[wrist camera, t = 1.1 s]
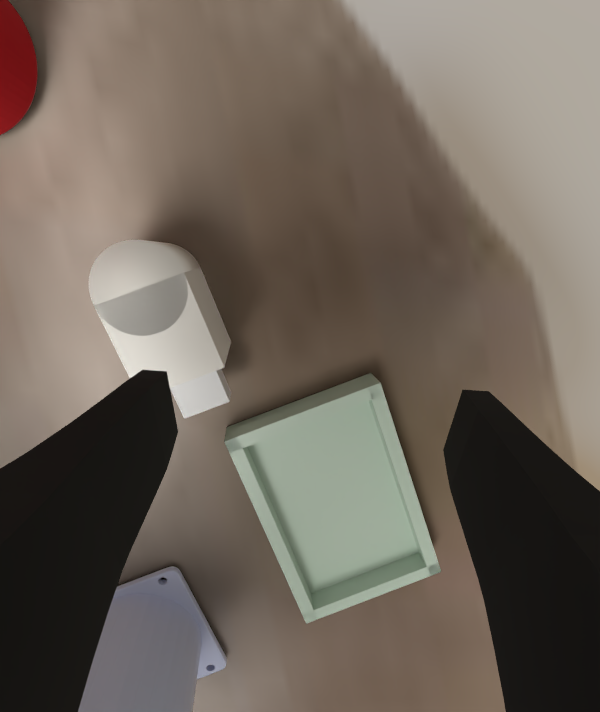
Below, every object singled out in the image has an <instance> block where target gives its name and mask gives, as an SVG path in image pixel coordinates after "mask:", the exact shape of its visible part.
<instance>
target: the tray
mask: <svg viewBox="0 0 600 712" xmlns="http://www.w3.org/2000/svg"><path fill="white" fill-rule="evenodd" d="M224 442H225V444H226V446H227V449H228V451H229V453H230V455H231V457H232V460H233V462H234V464H235V466H236V469H237V471H238V473H239V475H240V477H241V480H242V482H243V484H244V486H245V489H246V491H247V493H248V495H249V497H250V500H251V502H252V504H253V506H254V509H255V511H256V513H257V515H258V517H259V520H260V522H261V524H262V526H263V529H264V531H265V533H266V535H267V537H268V540H269V542H270V544H271V546H272V549H273V551H274V553H275V555H276V557H277V560H278V562H279V564H280V566H281V569H282V571H283V573H284V575H285V577H286V580H287V582H288V584H289V586H290V589H291V591H292V593H293V595H294V597H295V600H296V602H297V604H298V606H299V609H300V611H301V613H302V615H303V617H304V620H305V622H306V624H307V623H309V622H312V621H314V620H317V619H320V618H322V617H325V616H327V615H330V614H333V613H335V612H338V611H340V610H343V609H346V608H348V607H351V606H353V605H356V604H359V603H361V602H364V601H366V600H369V599H372V598H374V597H377V596H379V595H382V594H385V593H387V592H390V591H392V590H395V589H398V588H400V587H403V586H406V585H408V584H411V583H413V582H416V581H419V580H421V579H424V578H426V577H429V576H432V575H434V574H437V573H439V572H441V570H440V566H439V563H438V560H437V557H436V554H435V551H434V548H433V545H432V541H431V538H430V535H429V532H428V529H427V526H426V523H425V520H424V517H423V513H422V510H421V507H420V504H419V501H418V498H417V495H416V492H415V489H414V485H413V482H412V479H411V476H410V473H409V470H408V467H407V464H406V461H405V457H404V454H403V451H402V448H401V445H400V442H399V439H398V436H397V433H396V429H395V426H394V423H393V420H392V417H391V414H390V411H389V408H388V404H387V401H386V398H385V395H384V392H383V389H382V386H381V383H380V382H379V381H378V380H377V379H376V378H375V376H374V375H373V374H372V373H369V374H366V375H364V376H361V377H358V378H356V379H353V380H350V381H348V382H345V383H343V384H340V385H337V386H335V387H332V388H329V389H327V390H324V391H321V392H319V393H316V394H313V395H311V396H308V397H305V398H303V399H300V400H297V401H295V402H292V403H289V404H287V405H284V406H281V407H279V408H276V409H273V410H271V411H268V412H265V413H263V414H260V415H258V416H255V417H252V418H250V419H247V420H244V421H242V422H239V423H236V424H234V425H231V426H228V427H227V429H226V435H225V441H224Z"/></svg>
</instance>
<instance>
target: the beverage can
mask: <svg viewBox="0 0 600 712" xmlns="http://www.w3.org/2000/svg"><path fill="white" fill-rule="evenodd" d="M36 85H37V60H36V54H35V50H34V46H33V43H32V40H31V37H30V34H29V32H28V30H27V28H26V26H25V24H24V22H23V20H22V18H21V17H20V15H19V14H18V12H17V11H16V10H15V8H14V7H13V6H12V4H11V3H10V2H9V1H8V0H0V135H1V134H4V133H6V132H7V131H8V130H10V129H11V128H13V127H14V126H15V125H16V124H18V123H19V122H20V120H21V119H22V118H23V117H24V115H25V114H26V112H27V111H28V109H29V108H30V105H31V103H32V101H33V98H34V94H35V91H36Z"/></svg>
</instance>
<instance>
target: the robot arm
mask: <svg viewBox="0 0 600 712" xmlns="http://www.w3.org/2000/svg"><path fill="white" fill-rule="evenodd" d="M177 433H178V429H177V424H176V418H175V413H174V408H173V402H172V397H171V392H170V386H169V381H168V375H167V371H155V370H141V371H140V372H138V373H137V374H136V375H134V376H133V377H131V378H130V379H129V380H127V381H126V382H125V383H123V384H122V385H121V386H119V387H118V388H117V389H115V390H114V391H113V392H112V393H110V394H109V395H108V396H106V397H105V398H104V399H102V400H101V401H100V402H98V403H97V404H96V405H94V406H93V407H92V408H90V409H89V410H87V411H86V412H85V413H83V414H82V415H81V416H79V417H78V418H77V419H75V420H74V421H73V422H71V423H70V424H68V425H67V426H65V427H64V428H62V429H61V430H59V431H58V432H56V433H55V434H53V435H52V436H51V437H49V438H48V439H46V440H45V441H43V442H42V443H40V444H39V445H37V446H36V447H34V448H33V449H31V450H30V451H28V452H27V453H25V454H24V455H22V456H20V457H19V458H17V459H16V460H14V461H12V462H11V463H9V464H7V465H6V466H4V467H2V468H1V469H0V712H192V711H193V703H194V696H195V689H196V682H197V679H199V678H202V677H205V676H207V675H210V674H212V673H215V672H218V671H220V670H222V669H224V668H225V667H226V662H227V658H226V656H225V654H224V652H223V650H222V648H221V646H220V644H219V642H218V641H217V639H216V637H215V635H214V633H213V631H212V629H211V627H210V626H209V624H208V622H207V620H206V618H205V616H204V614H203V612H202V611H201V609H200V607H199V605H198V603H197V601H196V599H195V597H194V596H193V594H192V592H191V590H190V588H189V586H188V584H187V582H186V581H185V579H184V577H183V575H182V573H181V571H180V570H179V569H178V568H177V567H173V566H171V567H167V568H164V569H162V570H159V571H157V572H154V573H151V574H149V575H146V576H143V577H141V578H138V579H136V580H133V581H130V582H128V583H125V584H122V585H120V586H117V585H118V582H119V579H120V576H121V573H122V570H123V568H124V565H125V563H126V560H127V558H128V555H129V553H130V550H131V548H132V546H133V544H134V542H135V539H136V537H137V535H138V533H139V530H140V528H141V526H142V524H143V522H144V519H145V517H146V515H147V513H148V510H149V508H150V506H151V504H152V502H153V499H154V497H155V495H156V493H157V490H158V488H159V486H160V484H161V481H162V479H163V477H164V474H165V472H166V470H167V467H168V464H169V461H170V457H171V454H172V451H173V448H174V444H175V440H176V437H177ZM444 457H445V463H446V469H447V475H448V480H449V485H450V490H451V493H452V497H453V500H454V503H455V506H456V510H457V513H458V516H459V519H460V523H461V526H462V529H463V532H464V535H465V538H466V542H467V545H468V548H469V551H470V554H471V557H472V561H473V564H474V567H475V570H476V573H477V576H478V580H479V583H480V587H481V591H482V595H483V598H484V602H485V607H486V612H487V616H488V621H489V626H490V631H491V635H492V640H493V645H494V650H495V655H496V660H497V666H498V671H499V676H500V681H501V687H502V692H503V697H504V703H505V709H506V712H600V491H599V490H597V489H596V488H595V487H594V486H593V485H591V484H590V483H589V482H588V481H587V480H585V479H584V478H583V477H582V476H581V475H579V474H578V473H577V472H576V471H575V470H574V469H572V468H571V467H570V466H569V465H568V464H567V463H566V462H564V461H563V460H562V459H561V458H560V457H559V456H558V455H557V454H555V453H554V452H553V451H552V450H551V449H550V448H549V447H548V446H547V445H546V444H544V443H543V442H542V441H541V440H540V439H539V438H538V437H537V436H536V435H535V434H534V433H533V432H532V431H530V430H529V429H528V428H527V427H526V426H525V425H524V424H523V423H522V422H521V421H520V420H519V419H518V418H517V417H516V416H515V415H514V414H513V413H512V412H510V411H509V410H508V409H507V408H506V407H505V406H504V405H503V404H502V403H501V402H500V401H499V400H498V399H497V398H495V397H494V396H493V395H492V394H491V393H490V392H489V391H473V390H462V393H461V397H460V400H459V403H458V406H457V409H456V412H455V415H454V418H453V422H452V425H451V428H450V431H449V434H448V437H447V440H446V443H445V446H444ZM162 577H164V578H166V580H162V579H161V578H162Z"/></svg>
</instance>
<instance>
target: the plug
mask: <svg viewBox="0 0 600 712" xmlns="http://www.w3.org/2000/svg"><path fill="white" fill-rule="evenodd" d="M89 293H90V297H91V300H92V303H93V305H94V307H95V309H96V311H97V313H98V315H99V317H100V319H101V321H102V323H103V325H104V327H105V329H106V331H107V333H108V335H109V337H110V339H111V341H112V343H113V345H114V347H115V349H116V351H117V353H118V355H119V357H120V359H121V361H122V363H123V365H124V367H125V369H126V371H127V373H128V376H129V378H131V377H133V376H134V375H136V374H137V373H138V372H140V371H141V370H155V371H167V375H168V381H169V386H170V389H171V392H172V394H173V396H174V398H175V400H176V402H177V404H178V406H179V408H180V411H181V413H182V415H183V417H184V419H185V418H188V417H190V416H193V415H196V414H198V413H201V412H204V411H206V410H209V409H212V408H214V407H217V406H220V405H222V404H225V403H228V402H230V397H231V390H230V388H229V385H228V383H227V381H226V378H225V376H224V374H223V371H222V368H224V367H225V363H226V360H227V356H228V352H229V349H230V345H231V340H230V337H229V335H228V333H227V330H226V328H225V325H224V323H223V320H222V318H221V316H220V313H219V311H218V308H217V306H216V304H215V301H214V299H213V296H212V294H211V291H210V289H209V287H208V284H207V282H206V279H205V277H204V275H203V272H202V270H201V267H200V265H199V263H198V262H197V260H196V259H195V258H194V256H193V255H192V254H191V253H189V252H188V251H187V250H186V249H184V248H182V247H180V246H178V245H175V244H171V243H164V242H155V241H146V240H124V241H120V242H117V243H115V244H113V245H111V246H109V247H108V248H106V249H105V250H104V251H103V252H101V254H100V255H99V256H98V257H97V258H96V260H95V262H94V263H93V266H92V268H91V271H90V275H89Z"/></svg>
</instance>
